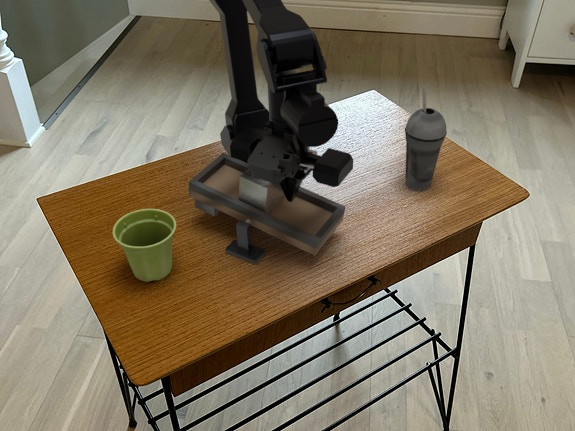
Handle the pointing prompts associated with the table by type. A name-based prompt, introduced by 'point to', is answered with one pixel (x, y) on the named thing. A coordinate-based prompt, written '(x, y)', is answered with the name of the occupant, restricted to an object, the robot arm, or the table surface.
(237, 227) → the stand
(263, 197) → the steel rider
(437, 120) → the beverage cup
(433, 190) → the table surface
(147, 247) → the plant pot
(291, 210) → the grey tray
